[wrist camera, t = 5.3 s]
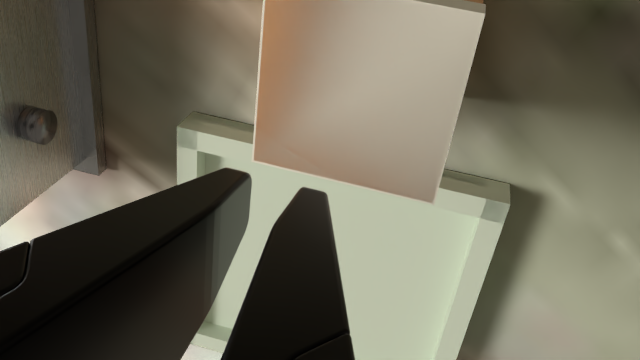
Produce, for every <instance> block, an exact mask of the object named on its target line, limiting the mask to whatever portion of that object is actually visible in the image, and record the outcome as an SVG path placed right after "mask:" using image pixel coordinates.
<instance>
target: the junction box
mask: <svg viewBox="0 0 640 360" xmlns="http://www.w3.org/2000/svg"><path fill="white" fill-rule="evenodd" d="M72 169H74V170H78V171H82V172H86V173H90V174H94V175H98V176H99V175H100V174H101V173H102V172H103V171H105V170H106V156H105V143H104V130H103V117H102V104H101V91H100V78H99V64H98V51H97V38H96V25H95V12H94V0H0V226H1V225H3V224H4V223H5V222H7V221H8V220H9V219H10V218H12V217H13V216H14V215H15V214H17V213H18V212H19V211H20V210H22V209H23V208H24V207H25V206H27V205H28V204H29V203H31V202H32V201H33V200H34V199H36V198H37V197H38V196H39V195H41V194H42V193H43V192H44V191H46V190H47V189H48V188H49V187H51V186H52V185H53V184H55V183H56V182H57V181H58V180H60V179H61V178H62V177H63V176H65V175H66V174H67V173H68V172H70V171H71V170H72Z"/></svg>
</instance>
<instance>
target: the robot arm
mask: <svg viewBox="0 0 640 360" xmlns="http://www.w3.org/2000/svg"><path fill="white" fill-rule="evenodd" d="M251 188H252V178H251V175H250V174H249V173H247V172H244V171H240V170H236V169H232V168H222V169H219V170H217V171H214V172H211V173H209V174H206V175H203V176H201V177H198V178H195V179H193V180H190V181H187V182H185V183H182V184H179V185H177V186H174V187H171V188H169V189H166V190H163V191H160V192H158V193H155V194H152V195H150V196H147V197H144V198H142V199H139V200H136V201H134V202H131V203H128V204H126V205H123V206H120V207H118V208H115V209H112V210H110V211H107V212H104V213H102V214H99V215H96V216H93V217H91V218H88V219H85V220H83V221H80V222H77V223H75V224H72V225H69V226H67V227H64V228H61V229H59V230H56V231H53V232H51V233H48V234H45V235H42V236H40V237H37V238H34V239H32V240H31V242H30V244H29V243H28V242H23V243H21V244H18V245H15V246H13V247H10V248H7V249H5V250H2V251H0V360H181V358H182V356H183V355H184V353H185V351H186V350H187V348H188V346H189V345H190V343H191V341H192V340H193V338H194V336H195V335H196V333H197V331H198V330H199V328H200V327H201V325H202V323H203V322H204V320H205V318H206V316H207V314H208V313H209V311H210V309H211V307H212V305H213V303H214V301H215V299H216V296H217V294H218V292H219V290H220V287H221V285H222V283H223V281H224V278H225V276H226V274H227V272H228V270H229V267H230V265H231V263H232V261H233V258H234V256H235V254H236V252H237V249H238V247H239V245H240V243H241V240H242V238H243V236H244V234H245V231H246V228H247V225H248V221H249V212H250V200H251ZM221 360H355V356H354V350H353V344H352V338H351V336H350V328H349V322H348V316H347V310H346V304H345V298H344V292H343V286H342V280H341V273H340V267H339V261H338V255H337V249H336V243H335V237H334V231H333V225H332V219H331V213H330V207H329V201H328V196H327V194H326V193H325V192H323V191H319V190H315V189H311V188H307V187H302V188H300V189H299V190H298V192H297V193H296V194H295V196H294V197H293V198H292V200H291V201H290V203H289V204H288V205H287V207H286V208H285V209H284V211H283V212H282V213H281V215H280V216H279V217H278V219H277V220H276V222H275V223H274V225H273V227H272V229H271V231H270V234H269V236H268V239H267V242H266V244H265V247H264V249H263V252H262V255H261V257H260V260H259V262H258V265H257V267H256V270H255V273H254V275H253V278H252V280H251V283H250V285H249V288H248V291H247V293H246V296H245V298H244V301H243V304H242V306H241V309H240V311H239V314H238V316H237V319H236V322H235V324H234V327H233V329H232V332H231V335H230V337H229V340H228V342H227V345H226V347H225V350H224V353H223V355H222V358H221Z"/></svg>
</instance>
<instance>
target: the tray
mask: <svg viewBox="0 0 640 360" xmlns="http://www.w3.org/2000/svg"><path fill="white" fill-rule="evenodd" d="M253 135H254V125H249V124H245V123H241V122H236V121H232V120H228V119H223V118H219V117H214V116H210V115H206V114H201V113H197V112H192V113H191V114H190V115H189V116H188V117H187V118H186V119H184V120H183V121H182V122H181V123H180V124H179V125H178V126H177V185H179V184H182V183H185V182H187V181H190V180H193V179H195V178H198V177H201V176H203V175H206V174H209V173H211V172H214V171H217V170H219V169H222V168H232V169H236V170H240V171H244V172H247V173H249V174H250V175H251V178H252V188H251V200H250V212H249V221H248V225H247V228H246V231H245V234H244V236H243V238H242V240H241V243H240V245H239V247H238V249H237V252H236V254H235V256H234V258H233V261H232V263H231V265H230V267H229V270H228V272H227V274H226V276H225V278H224V281H223V283H222V285H221V287H220V290H219V292H218V294H217V296H216V299H215V301H214V303H213V305H212V307H211V309H210V311H209V313H208V314H207V316H206V318H205V320H204V322H203V323H202V325H201V327H200V328H199V330H198V331H197V333H196V335H195V336H194V338H193V340H192V341H191V343H190V344H193V345H196V346H200V347H203V348H207V349H210V350H213V351H217V352H220V353H224V350H225V347H226V345H227V342H228V340H229V337H230V335H231V332H232V329H233V327H234V324H235V322H236V319H237V316H238V314H239V311H240V309H241V306H242V304H243V301H244V298H245V296H246V293H247V291H248V288H249V285H250V283H251V280H252V278H253V275H254V273H255V270H256V267H257V265H258V262H259V260H260V257H261V255H262V252H263V249H264V247H265V244H266V242H267V239H268V236H269V234H270V231H271V229H272V227H273V225H274V223H275V222H276V220H277V219H278V217H279V216H280V215H281V213H282V212H283V211H284V209H285V208H286V207H287V205H288V204H289V203H290V201H291V200H292V198H293V197H294V196H295V194H296V193H297V192H298V190H299V189H300V188H302V187H307V188H311V189H315V190H319V191H323V192H325V193H326V194H327V196H328V201H329V207H330V213H331V219H332V225H333V231H334V237H335V243H336V249H337V255H338V261H339V267H340V273H341V280H342V286H343V292H344V298H345V304H346V310H347V316H348V322H349V328H350V336H351V338H352V344H353V350H354V356H355V360H456V359H457V356H458V353H459V350H460V347H461V344H462V342H463V339H464V336H465V333H466V330H467V327H468V324H469V322H470V319H471V316H472V313H473V310H474V307H475V304H476V302H477V299H478V296H479V293H480V290H481V287H482V284H483V282H484V279H485V276H486V273H487V270H488V267H489V265H490V262H491V259H492V256H493V253H494V250H495V247H496V245H497V242H498V239H499V236H500V233H501V230H502V227H503V225H504V222H505V219H506V216H507V213H508V210H509V207H510V205H511V204H510V184H508V183H503V182H499V181H494V180H490V179H486V178H481V177H477V176H473V175H468V174H464V173H459V172H455V171H451V170H446V169H444V170H443V174H442V178H441V181H440V185H439V189H438V193H437V196H436V200H435V204H434V205H432V204H427V203H423V202H419V201H415V200H411V199H406V198H402V197H398V196H394V195H390V194H385V193H381V192H377V191H373V190H369V189H364V188H360V187H356V186H352V185H348V184H343V183H339V182H335V181H331V180H327V179H322V178H318V177H314V176H310V175H306V174H301V173H297V172H293V171H289V170H285V169H280V168H276V167H272V166H268V165H264V164H259V163H255V162H252V149H253Z"/></svg>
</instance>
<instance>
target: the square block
mask: <svg viewBox="0 0 640 360" xmlns="http://www.w3.org/2000/svg"><path fill="white" fill-rule="evenodd" d="M485 12H486V4H483V0H263V8H262V22H261V36H260V50H259V65H258V79H257V93H256V107H255V121H254V135H253V149H252V162H255V163H259V164H264V165H268V166H272V167H276V168H280V169H285V170H289V171H293V172H297V173H301V174H306V175H310V176H314V177H318V178H322V179H327V180H331V181H335V182H339V183H343V184H348V185H352V186H356V187H360V188H364V189H369V190H373V191H377V192H381V193H385V194H390V195H394V196H398V197H402V198H406V199H411V200H415V201H419V202H423V203H427V204H432V205H434V204H435V200H436V196H437V193H438V189H439V185H440V181H441V178H442V174H443V170H444V167H445V163H446V159H447V155H448V152H449V148H450V144H451V140H452V137H453V133H454V129H455V125H456V122H457V118H458V114H459V111H460V107H461V103H462V99H463V96H464V92H465V88H466V84H467V81H468V77H469V73H470V69H471V66H472V62H473V58H474V55H475V51H476V47H477V43H478V40H479V36H480V32H481V28H482V25H483V21H484V17H485Z"/></svg>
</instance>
